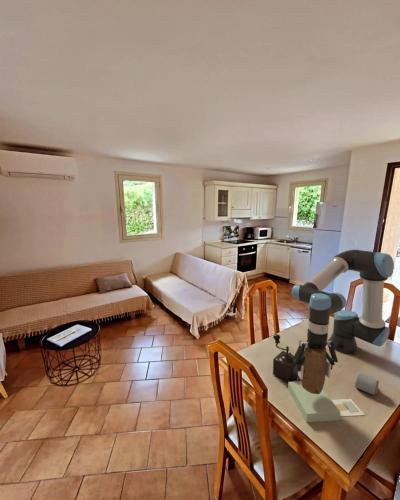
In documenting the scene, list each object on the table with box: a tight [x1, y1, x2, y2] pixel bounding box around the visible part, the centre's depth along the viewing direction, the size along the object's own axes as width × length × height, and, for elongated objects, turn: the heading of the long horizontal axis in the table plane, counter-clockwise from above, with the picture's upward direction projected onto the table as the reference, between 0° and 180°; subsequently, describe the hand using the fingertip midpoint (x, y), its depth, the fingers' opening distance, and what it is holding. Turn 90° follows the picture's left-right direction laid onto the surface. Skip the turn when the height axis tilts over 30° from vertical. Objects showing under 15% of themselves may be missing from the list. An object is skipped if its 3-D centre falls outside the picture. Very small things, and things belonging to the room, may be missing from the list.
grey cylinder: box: [354, 371, 380, 396], centre depth 106 cm, size 11×8×8 cm
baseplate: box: [287, 380, 341, 423], centre depth 98 cm, size 14×17×4 cm
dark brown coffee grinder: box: [272, 333, 300, 384], centre depth 116 cm, size 16×11×18 cm
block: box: [301, 345, 328, 394], centre depth 95 cm, size 11×8×20 cm
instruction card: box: [331, 398, 365, 418], centre depth 96 cm, size 10×8×1 cm
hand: (313, 376), depth 96 cm, fingers closed on block, 11 cm apart
